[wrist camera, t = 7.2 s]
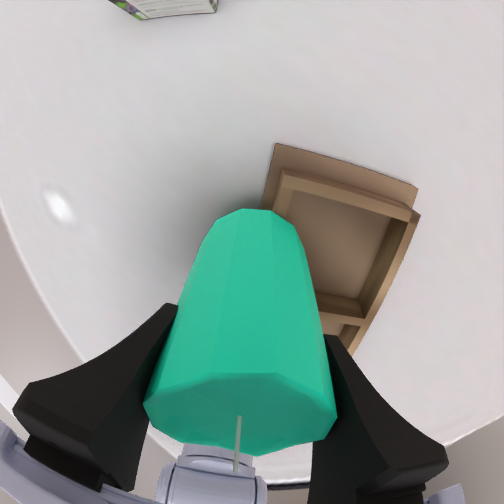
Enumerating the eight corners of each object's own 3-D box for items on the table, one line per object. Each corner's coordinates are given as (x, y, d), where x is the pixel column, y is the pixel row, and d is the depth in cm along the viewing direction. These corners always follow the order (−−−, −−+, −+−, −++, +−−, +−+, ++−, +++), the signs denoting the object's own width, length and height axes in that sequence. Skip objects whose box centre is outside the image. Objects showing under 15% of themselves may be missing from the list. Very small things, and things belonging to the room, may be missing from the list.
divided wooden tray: (325, 374, 27) (329, 401, 24) (225, 359, 26) (220, 386, 23) (412, 185, 18) (435, 198, 15) (275, 143, 18) (276, 147, 14)
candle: (180, 250, 17) (97, 443, 6) (258, 185, 14) (240, 408, 4) (248, 311, 19) (233, 494, 8) (324, 261, 17) (375, 465, 6)
